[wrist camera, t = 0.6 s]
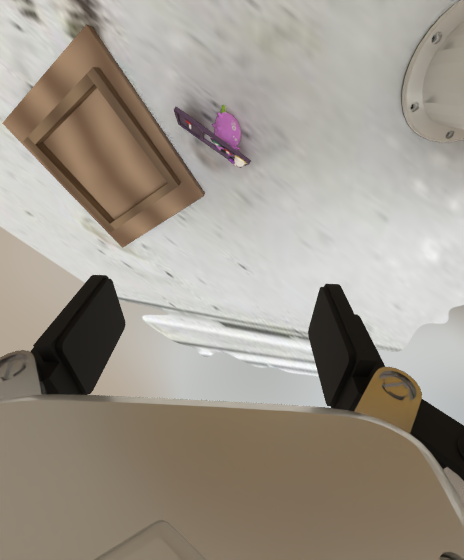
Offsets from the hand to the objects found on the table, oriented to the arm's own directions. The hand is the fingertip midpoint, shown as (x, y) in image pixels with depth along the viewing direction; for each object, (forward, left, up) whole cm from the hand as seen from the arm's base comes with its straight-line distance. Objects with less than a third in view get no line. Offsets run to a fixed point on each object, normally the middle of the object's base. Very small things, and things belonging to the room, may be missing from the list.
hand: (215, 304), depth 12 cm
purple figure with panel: (0, -5, -28) cm, 28 cm away
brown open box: (+14, -9, -27) cm, 32 cm away
